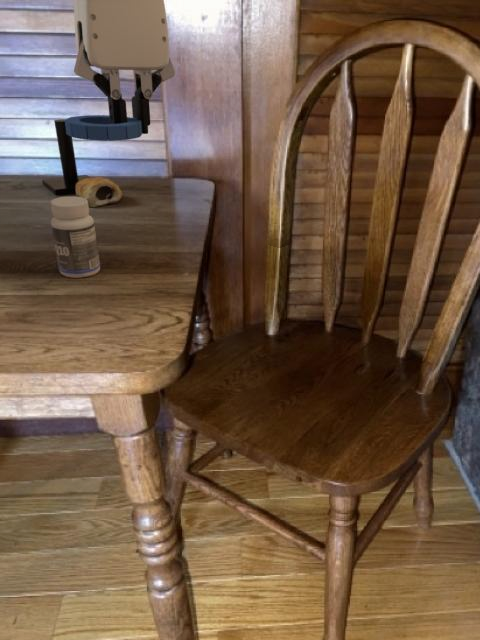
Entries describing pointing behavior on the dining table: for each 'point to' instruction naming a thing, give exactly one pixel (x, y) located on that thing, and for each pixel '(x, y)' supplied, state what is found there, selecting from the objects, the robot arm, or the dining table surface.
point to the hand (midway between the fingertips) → (131, 131)
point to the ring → (102, 128)
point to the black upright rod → (64, 164)
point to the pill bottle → (74, 237)
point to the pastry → (98, 191)
